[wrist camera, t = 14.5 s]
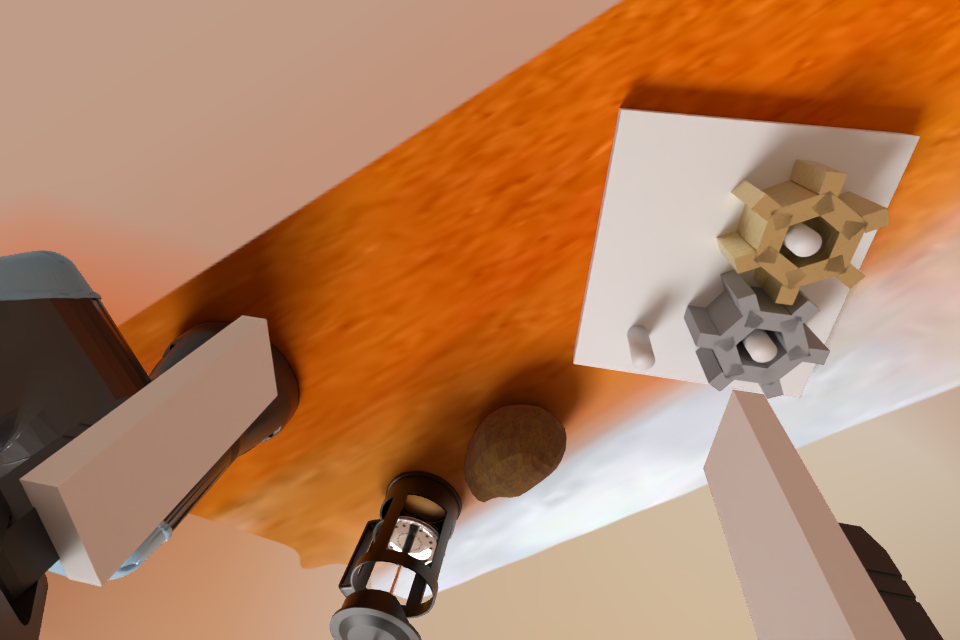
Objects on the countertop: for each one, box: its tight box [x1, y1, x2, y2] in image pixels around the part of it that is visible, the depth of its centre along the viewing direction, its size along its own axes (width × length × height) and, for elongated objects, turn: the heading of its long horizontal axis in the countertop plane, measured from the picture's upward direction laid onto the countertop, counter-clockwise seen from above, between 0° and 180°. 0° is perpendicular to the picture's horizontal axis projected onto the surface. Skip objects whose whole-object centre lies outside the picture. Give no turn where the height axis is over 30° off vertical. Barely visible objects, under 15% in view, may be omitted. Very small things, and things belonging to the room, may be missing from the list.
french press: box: [330, 471, 461, 640], centre depth 51 cm, size 12×9×23 cm
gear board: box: [574, 108, 920, 399], centre depth 38 cm, size 20×22×8 cm
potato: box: [464, 404, 566, 502], centre depth 49 cm, size 8×12×9 cm
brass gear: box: [716, 159, 890, 305], centre depth 35 cm, size 9×9×5 cm
